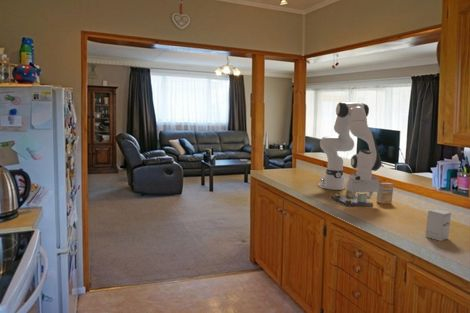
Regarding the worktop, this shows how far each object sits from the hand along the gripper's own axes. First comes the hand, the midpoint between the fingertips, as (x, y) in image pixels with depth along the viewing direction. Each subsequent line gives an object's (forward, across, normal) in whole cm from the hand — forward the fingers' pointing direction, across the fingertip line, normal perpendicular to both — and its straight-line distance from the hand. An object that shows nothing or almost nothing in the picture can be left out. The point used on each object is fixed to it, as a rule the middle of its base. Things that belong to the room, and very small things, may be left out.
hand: (361, 198), depth 240 cm
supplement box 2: (+4, -2, +63) cm, 63 cm away
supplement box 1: (+4, -19, -5) cm, 20 cm away
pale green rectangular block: (+2, 0, 0) cm, 2 cm away
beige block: (+2, 0, -14) cm, 14 cm away
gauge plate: (+4, +3, -7) cm, 9 cm away
